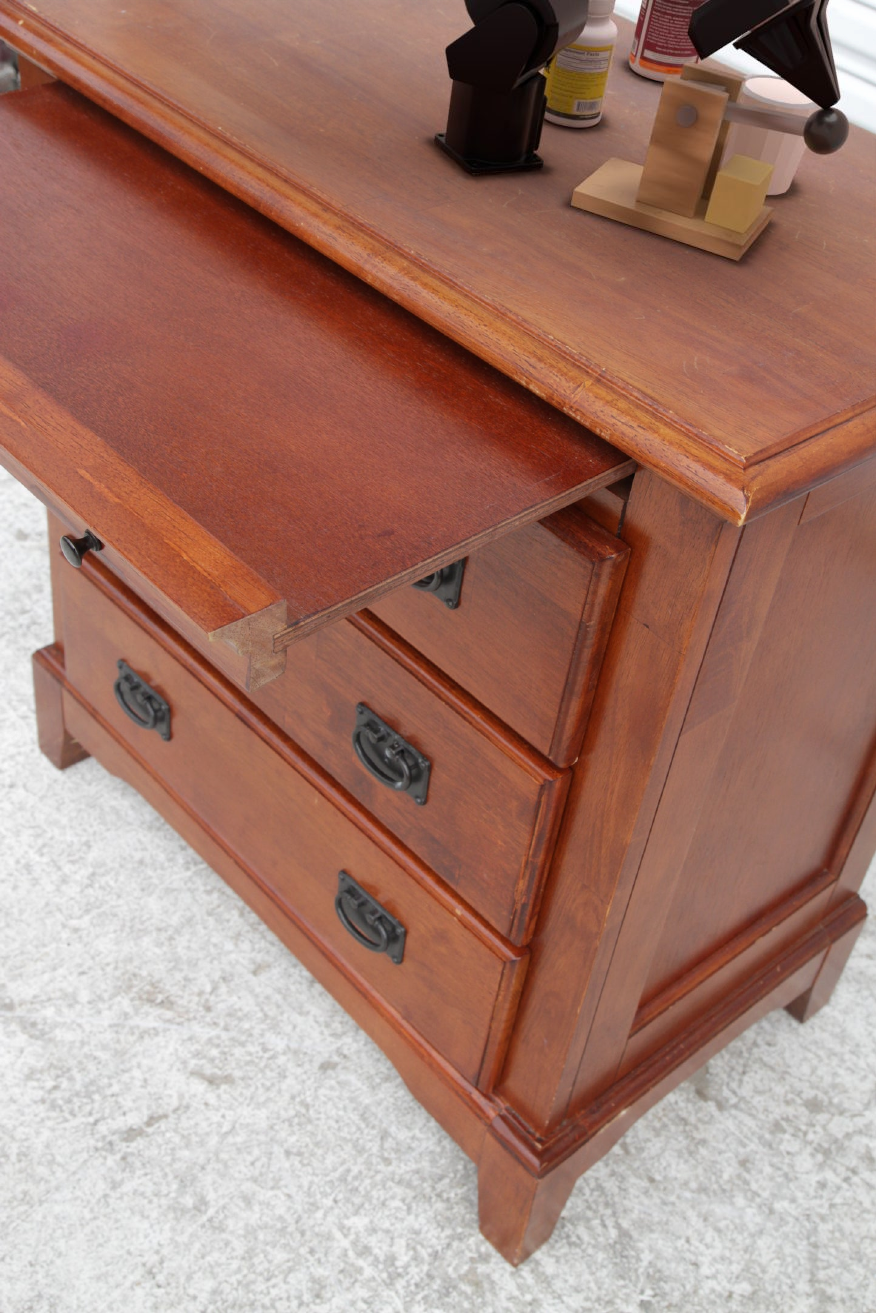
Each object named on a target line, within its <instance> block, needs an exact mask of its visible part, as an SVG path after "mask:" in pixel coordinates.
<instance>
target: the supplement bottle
mask: <svg viewBox="0 0 876 1313" xmlns="http://www.w3.org/2000/svg"><path fill="white" fill-rule="evenodd" d="M588 5H589V6H588V19H587V22H586V25H585V27H584V30H583V32H582V33H581V35H580V36H579V37H578V39H577V40H576V41H575V42H573V43H572V44H570V45H569V46H568V47H566V48H565V49H563V50H562V51H560V52H559V53H557V54H556V56H555V58H554V60H553V61H552V63H551V65H549V66H548V67H544V68H543V69H542V70H543V71H542V74H543V75H544V76H545V77H547V82H546V87H545V93H544V94H545V95H546V96H547V98H548V101H547V107H546V112H545V118H544V120H547V121H548V122H550V123H553V124H555V125H559V126H564V127H568V128H569V127H570V128H589V127H593V126H595V125H597V124H598V123H599V122H600V121H601V119H602V115H603V111H604V107H605V102H606V96H607V91H608V87H609V82H610V77H611V72H612V66H613V61H614V58H615V57H614V56H615V52H616V46H617V42H618V41H617V40H618V35H619V34H618V33H619V32H618V31H619V30H618V28H617V25H616V24H615V22H613V21H612V20H611V19H610V16H613V15H614V10H615V5H616V0H589V4H588Z"/></svg>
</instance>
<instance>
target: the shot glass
mask: <svg viewBox="0 0 876 1313" xmlns="http://www.w3.org/2000/svg"><path fill="white" fill-rule="evenodd" d="M741 77H743V78H746V81H745V84H744V88H743V91H742V95H741V98H740V102H739V103H741V104H746V105H751V106H756V107H761V108H765V109H770V110H775V111H780V112H785V113H790V114H795V115H800V116H805V117H809V116H810V115H811V114H812V113H814V112H815V111H817V110H818V109H821V107H820V106H818V105H817V104H816V103H814V102H813V101H812V100H810V99H809V98H808V97H806V96H805V95H804V94H803V93H801V92H800V91H799V90H797V89H796V88H795V87H793V86H792V85H791V84H789V83H788V82H787V81H785V80H784V79H783V78H781V77H780V76H779V75H772V74H755V73H753V74H747V75H744V76H741ZM806 149H807V145H806V144H805V141H804V138H803V136H798V135H793V134H788V133H784V132H779V131H774V130H769V129H764V128H760V127H755V126H750V125H745V124H740V123H735V122H734V123H733V127H732V130H731V134H730V137H729V141H728V144H727V148H726V151H725V155H724V159H723V162H722V166H721V169H722V168H723V167H724V166H725V165H726V163H727V162H728V161H729V160H730V159H731V158H732V157H733V156H734V155H735V154H738V155H742V156H745V157H748V158H751V159H754V160H758V161H761V162H764V163H767V164H770V165H774V166H775V168H774V171H773V174H772V177H771V181H770V184H769V187H768V190H767V193H766V196H777V195H781V194H786V192H787V191H788V190H789V189H790V186H791V184H792V182H793V179H794V177H795V175H796V172H797V170H798V167H799V165H800V163H801V160H802V158H803V156H804V153H805V151H806ZM721 169H720V170H721Z"/></svg>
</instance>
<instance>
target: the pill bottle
mask: <svg viewBox="0 0 876 1313" xmlns="http://www.w3.org/2000/svg"><path fill="white" fill-rule="evenodd" d="M706 1H707V0H641V3H640V8H639V12H638V16H637V17H638V18H637V22H636V26H635V30H634V34H633V41H632V44H631V50H630V54H629V58H628V59H629V61H628V63H629V67H630V69H631V70H632V71H634V72H635V73H636V74H638V75H640V76H642V77H644V78H647V79H650V80H653V81H658V82H662V83H664V81H665V79H666V78H667V77H669V76H672V77H675V78H679V79H680V76H681V72H682V68H683V65H684V64H685V63H686V62H687V61H689V62H693V63H696V64H699V60H700V58H699V56H698V54H697V52H696V50H695V48H694V46H693V44H692V42H691V40H690V38H689V36H688V34H687V32H688V28H689V23H690V19H691V15H692V11H693V10H695V9H696V8H698V7H699V6H700V5H702V4H703V3H705V2H706Z"/></svg>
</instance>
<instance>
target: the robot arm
mask: <svg viewBox="0 0 876 1313" xmlns="http://www.w3.org/2000/svg"><path fill="white" fill-rule="evenodd" d="M463 2H464V6H465V10H466V12H467V15H468V16H469V18H470V21H471V22H472V24H473V25H474V26H473V27H472V28H470V29H469V30H468V31H466V32H464V33H463V34H462V35H461V36H459V37H457V38H456V39H455V40H454V41H452V42H451V43H450V44H448V45H447V46H446V47H445V49H444V53H445V59H446V65H447V71H448V76H449V79H450V80H452V83H451V89H450V90H451V91H450V98H449V105H448V113H447V121H446V128H445V132H436V133H435V134H434V137H433V138H434V142H435V143H436V144H437V145H438V146H439V147H440V148H441V149H443V150H444V151H445V153H447V154H448V155H449V156H451V158H452V159H454V160H455V161H456V162H457V163H458V164H459V165H461V167H463V169H465V170H466V171H467V172H468V173H470V174H473V175H479V174H490V173H492V174H493V173H502V172H513V171H514V172H515V171H525V170H526V171H527V170H536V169H537V170H538V169H542V168H544V165H545V164H544V163H545V160H544V159H543V158H542V157H540V156H539V155H538V154H537V153H536V152H537V151H538V150H539V148H540V145H541V139H542V134H543V128H544V122H545V112H546V107H547V101H548V98H547V96H546V95H545V94H544V93H545V87H546V82H547V77H545V76H544V75H543V73H541V72H540V71H541V70H544V67H548V66H549V65H551V63H552V61H553V60H554V58H555V56H556V54H557V53H559V52H560V51H562V50H563V49H565V48H566V47H568V46H569V45H570V44H572V43H573V42H575V41H576V40H577V39H578V37H579V36H580V35H581V33H582V32H583V30H584V27H585V25H586V22H587V19H588V6H589V5H588V4H589V0H463ZM829 3H830V0H707V1H706V2H705V3H703V4H702V5H700V6H699V7H698V8H696V9H695V10H693V11H692V15H691V19H690V23H689V28H688V32H687V34H688V36H689V38H690V40H691V42H692V44H693V46H694V48H695V50H696V52H697V54H698V56H699V60H700V61H701V62H702V61H704V60H705V59H708V58H709V57H710V56H712V55H714V54H715V53H716V52H718V51H720V50H721V49H723V48H725V47H726V46H727V45H729V44H731V45H732V46H733V48H734V49H735V50H736V51H739V50H740V51H742V52H744V53H746V54H747V55H748V56H750V57H751V58H753V59H754V60H756V61H757V62H759V63H760V64H762V65H763V66H764V67H766V68H768V69H769V70H770V71H772V72H773V73H774V74H776V76H778V77H781V78H783V79H784V80H785V81H787V82H788V83H789V84H791V85H792V86H793V87H795V88H796V89H797V90H799V91H800V92H801V93H803V94H804V95H805V96H806V97H808V98H809V99H810V100H812V101H813V102H814V103H816V104H817V105H818V106H820V107H821V108H822V109H828V108H830V107H833V106H835V105H837V104H838V102H839V101H840V100H841V98H842V95H841V91H840V85H839V80H838V74H837V68H836V63H835V59H834V52H833V48H832V47H833V46H832V43H831V42H832V41H831V36H830V30H829V24H828V17H827V9H828V6H829ZM732 42H733V43H732Z"/></svg>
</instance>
